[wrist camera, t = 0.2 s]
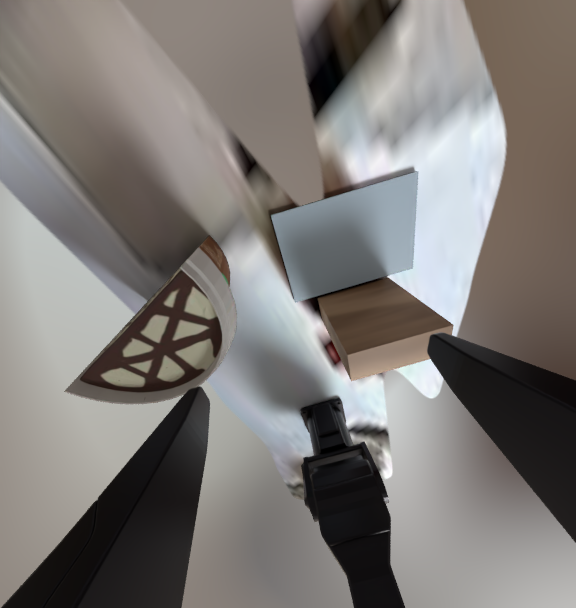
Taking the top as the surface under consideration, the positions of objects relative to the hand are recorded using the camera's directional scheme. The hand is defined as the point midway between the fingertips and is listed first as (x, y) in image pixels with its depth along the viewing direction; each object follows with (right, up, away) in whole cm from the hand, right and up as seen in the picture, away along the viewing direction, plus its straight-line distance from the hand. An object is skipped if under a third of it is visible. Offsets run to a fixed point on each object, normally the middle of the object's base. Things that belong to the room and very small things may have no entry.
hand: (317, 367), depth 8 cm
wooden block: (+6, +3, +16) cm, 17 cm away
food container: (-10, +4, +13) cm, 17 cm away
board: (+5, +8, +12) cm, 16 cm away
